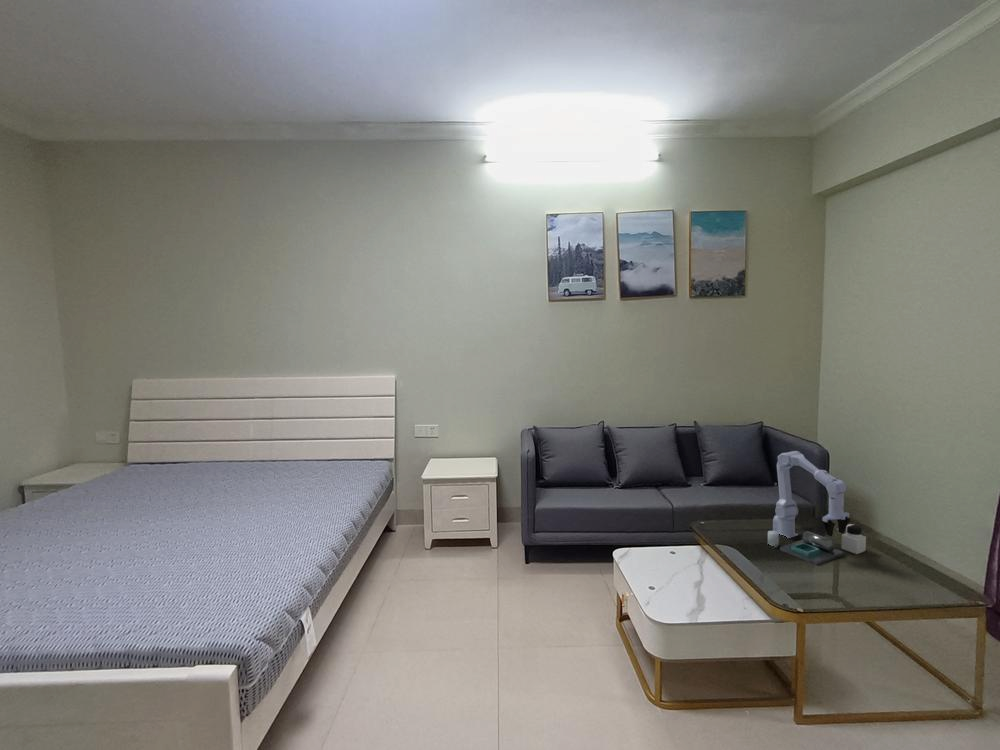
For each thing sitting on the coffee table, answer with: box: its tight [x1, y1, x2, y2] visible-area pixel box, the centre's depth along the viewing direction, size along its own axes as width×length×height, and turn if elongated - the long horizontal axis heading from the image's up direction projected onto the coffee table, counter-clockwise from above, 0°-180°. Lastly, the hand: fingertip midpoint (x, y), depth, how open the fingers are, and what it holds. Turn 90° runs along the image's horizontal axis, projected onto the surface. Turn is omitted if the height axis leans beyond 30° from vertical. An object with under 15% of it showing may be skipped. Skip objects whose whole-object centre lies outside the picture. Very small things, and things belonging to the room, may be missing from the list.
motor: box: [779, 530, 845, 566], centre depth 238 cm, size 18×20×7 cm
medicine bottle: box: [841, 523, 867, 555], centre depth 238 cm, size 7×7×12 cm
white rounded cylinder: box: [767, 530, 780, 548], centre depth 247 cm, size 5×5×6 cm
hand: (835, 534), depth 234 cm, fingers open, 7 cm apart
